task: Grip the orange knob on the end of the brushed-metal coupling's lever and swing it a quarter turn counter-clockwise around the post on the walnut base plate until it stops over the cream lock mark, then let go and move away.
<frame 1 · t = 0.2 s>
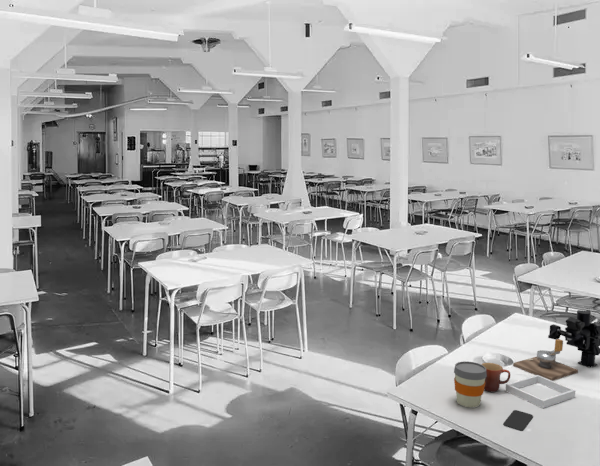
hand: (557, 339, 249), 16 cm above the table, tool horizontal, fingers open, 9 cm apart
base plate: (545, 369, 257), on the table
tray frame: (539, 393, 230), on the table
reusable coffee cup: (468, 402, 221), on the table
mug: (494, 390, 233), on the table
phone: (518, 422, 206), on the table
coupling: (550, 350, 257), point 9 cm above the table, hinge at 0.0°
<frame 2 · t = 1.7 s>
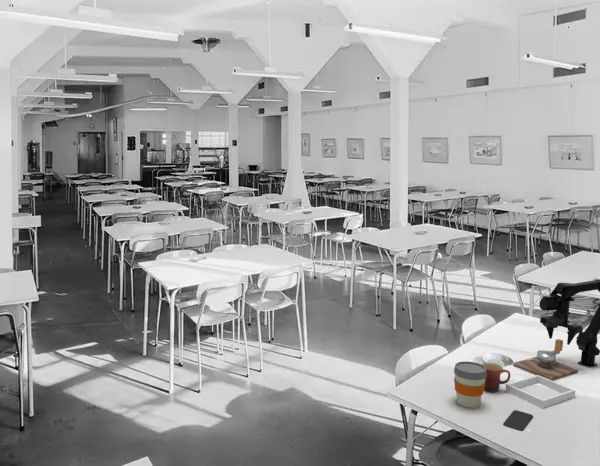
hand: (559, 341, 259), 12 cm above the table, tool pointing down, fingers open, 9 cm apart
nothing on the table moved.
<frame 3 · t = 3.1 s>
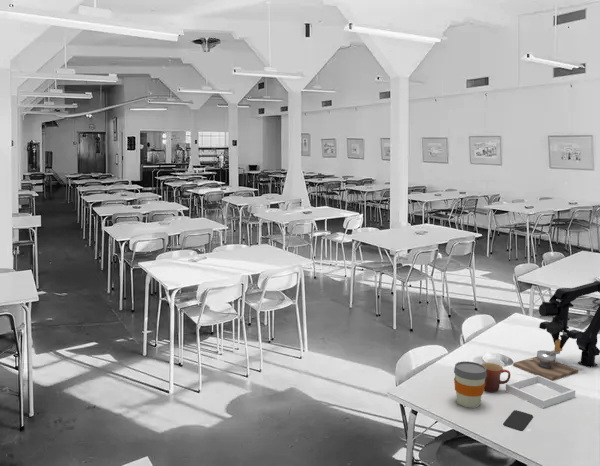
hand: (558, 347, 260), 9 cm above the table, tool pointing down, fingers closed on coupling, 2 cm apart
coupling: (550, 350, 257), point 9 cm above the table, hinge at 0.0°, touching gripper
everything else where it was.
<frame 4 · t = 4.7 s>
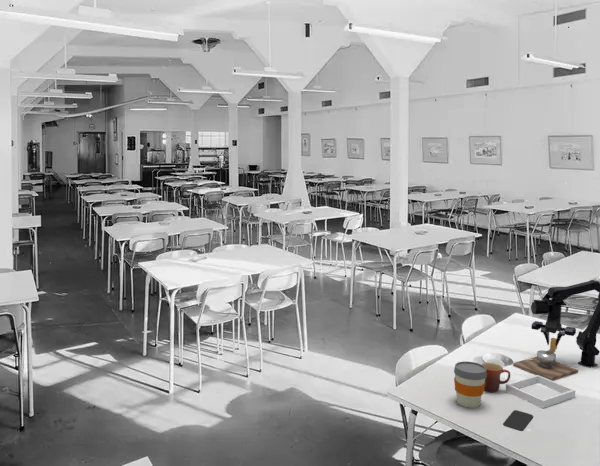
hand: (552, 345, 262), 9 cm above the table, tool pointing down, fingers open, 3 cm apart
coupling: (549, 349, 258), point 9 cm above the table, hinge at 15.4°, touching gripper
everything else where it was.
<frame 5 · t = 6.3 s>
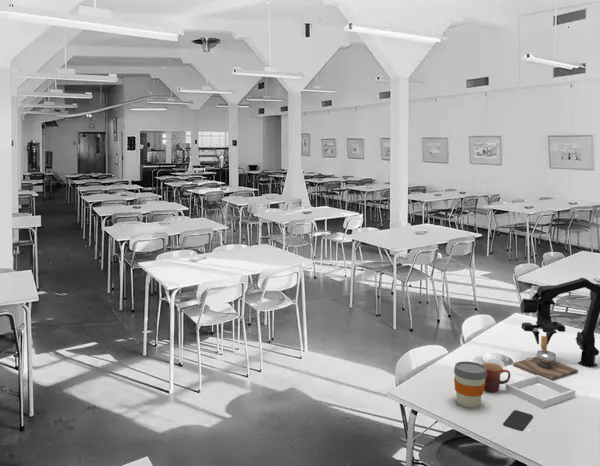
hand: (542, 344, 264), 9 cm above the table, tool pointing down, fingers open, 4 cm apart
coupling: (545, 349, 258), point 9 cm above the table, hinge at 43.2°, touching gripper
everything else where it was.
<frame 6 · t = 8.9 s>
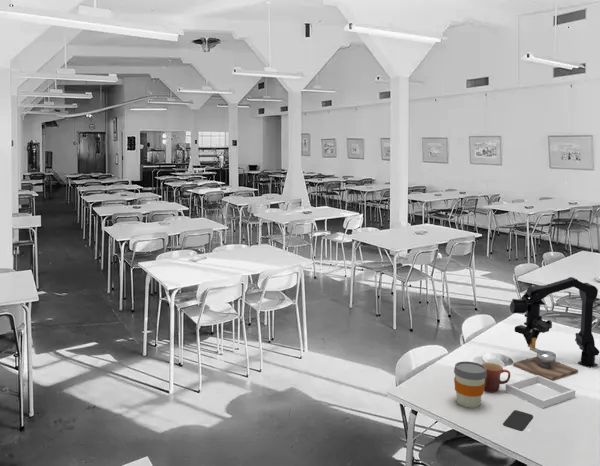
hand: (531, 344, 263), 9 cm above the table, tool pointing down, fingers open, 3 cm apart
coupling: (541, 349, 258), point 9 cm above the table, hinge at 83.1°, touching gripper
everything else where it was.
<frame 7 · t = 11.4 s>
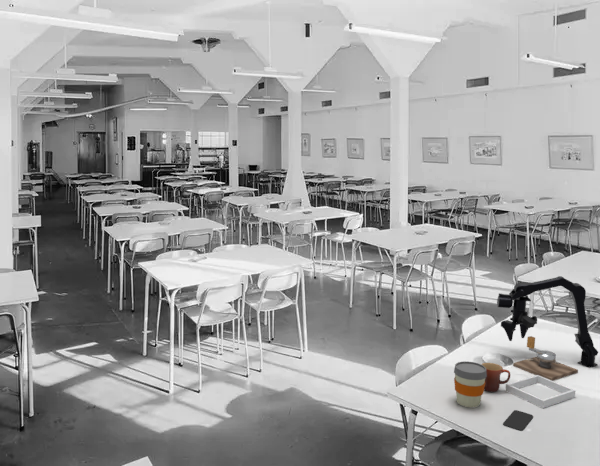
hand: (516, 339, 269), 9 cm above the table, tool pointing down, fingers open, 9 cm apart
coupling: (541, 349, 258), point 9 cm above the table, hinge at 86.4°
everything else where it was.
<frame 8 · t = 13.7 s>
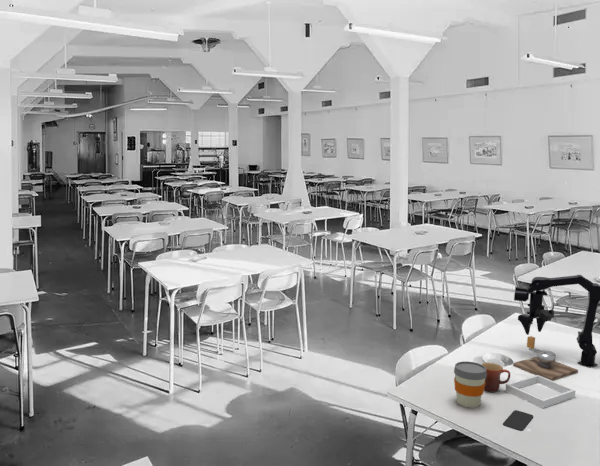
hand: (533, 333, 271), 12 cm above the table, tool pointing down, fingers open, 9 cm apart
nothing on the table moved.
at the end: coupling at +86° (first picture: +0°); the gripper is holding nothing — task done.
